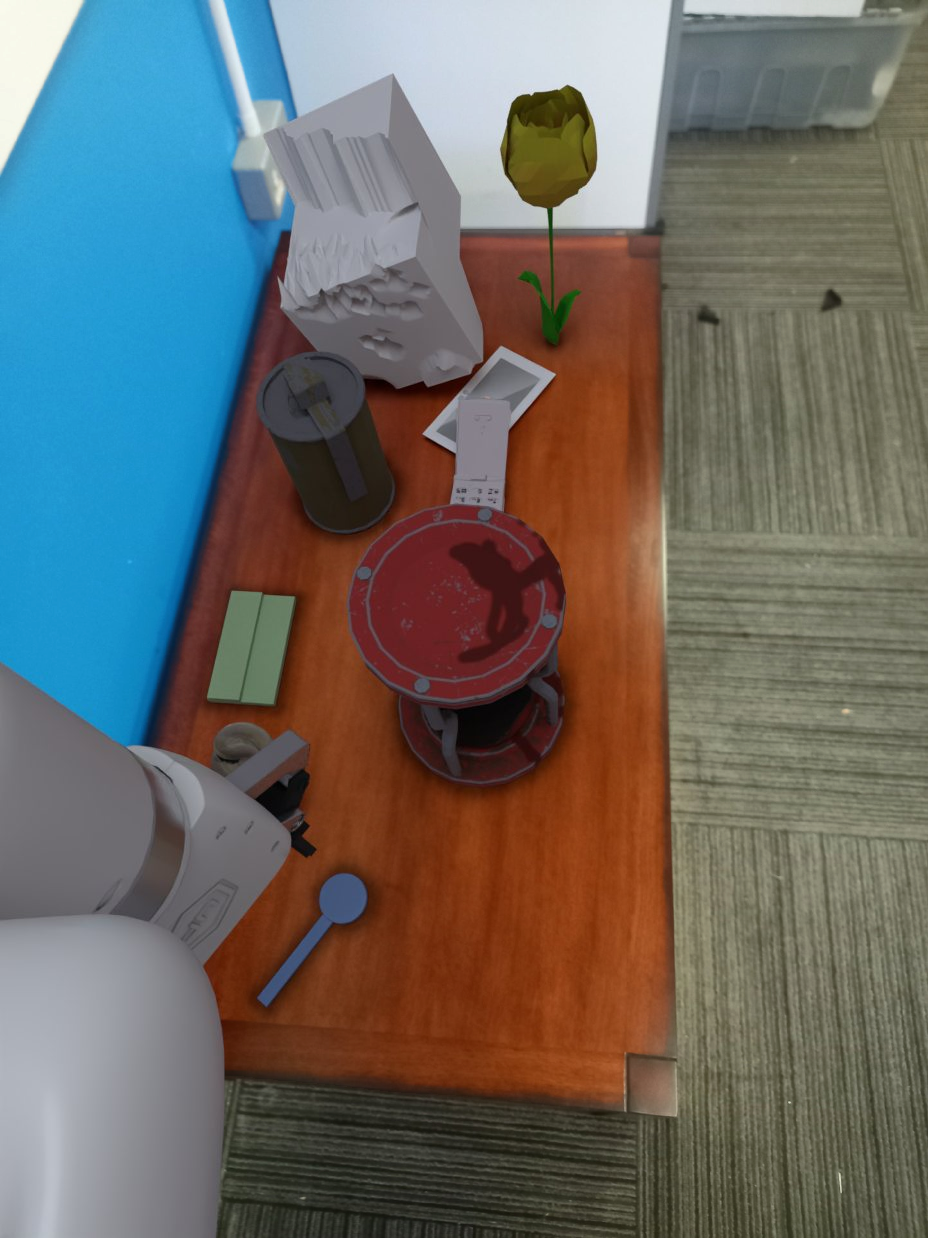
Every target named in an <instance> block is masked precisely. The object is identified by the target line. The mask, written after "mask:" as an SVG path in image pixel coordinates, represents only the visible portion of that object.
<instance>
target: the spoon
mask: <svg viewBox="0 0 928 1238" xmlns="http://www.w3.org/2000/svg"><path fill="white" fill-rule="evenodd" d="M368 902H369V893H368V889H367V886H366V885H365V883H364V881H363V880H362V879H361V878H359V877H358V876H356V875H354V874H352V873H348V872H342V873H337V874H334V875H333V876H331V877H329V878H328V879H327V880H326V881H325V882H324V884H323V885H322V887H321V889H320V891H319V895H318V906H319V909H320V911H321V913H322V915H321V916H320V917H319V918H318V919H317V921H316V922H315V923H314V925H312V927H311V928H310V930H309V931H308V933H307V934H306V935H305V936H304V937H303V939H302V940H301V941H300V943H298V945H297V947H296V948H295V949H294V950H293V951H292V952H291V953H290V955H289V956H288V958H287V959H286V960H285V961H284V962H283V964H282V965H281V967H280V968H279V969H278V970H277V972H276V973H275V974H274V975H273V977H272V978H271V979H270V981H269V982H268V983H267V984H266V985H265V987H264V988H263V989H262V991H261V992H260V994H259V995H258V996H257V998H256V1000H258V1001H259V1002H261V1004H262V1005H264V1006H265V1008H269V1007H270V1006H271V1004H272V1003H273V1001H275V999H276V998H277V997H278V995H279V994H280V993H281V991H282V990H283V989H284V988H285V986H286V985H287V984H288V982H289V981H290V980H291V978H292V977H293V976H294V975H295V973H296V972H297V971H298V970H299V968H300V967H301V966H302V965H303V964H304V962H305V961H306V960H307V958H308V957H309V955H311V953H312V951H313V950H314V949H315V948H316V946H317V945H318V944H319V943H320V941H321V940H322V939H323V938H324V936H325V935H326V934H327V932H328V931H329V930H330V928H331V927H332V926H333V925H334V924H336V925H337V924H338V925H348V924H351V923H354V922H356V921H357V920H358V919H360V918H361V916H362V915H363V914H364V913H365V912H366V909H367V906H368V904H369V903H368Z"/></svg>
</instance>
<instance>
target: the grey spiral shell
mask: <svg viewBox="0 0 928 1238" xmlns="http://www.w3.org/2000/svg"><path fill="white" fill-rule="evenodd" d="M273 740H274V738H273V737H272V736H271V735H270V734H269V732H267V730H266V729H264V728H263V727H262V726H260V725H257V724H256V723H253V722H247V721H240V722H238V721H237V722H233V723H230V724H227V725H225V726H224V727H222V728H221V729H220V730H219V731H218V732H217V733H216V735H215V737H214V739H213V740H212V749H213V751H212V754H211V756H210V769H211V770H213V771H215V772H216V773H218V774H220V775H221V776H223V777H226V776H227V775H229V774H230V773H231V772H232V771H234V770H235V769H236V768H238V767H239V766H240V765H242V764H243V763H244V762H246V761H247V760H248V759H250V758H251V757H252V756H254V755H255V754H256V753H258V752H259V751H260V750H261V749H263V748H264V747H265V746H267V745H268V744H269V743H271V742H272V741H273Z"/></svg>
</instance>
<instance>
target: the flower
mask: <svg viewBox="0 0 928 1238" xmlns="http://www.w3.org/2000/svg"><path fill="white" fill-rule="evenodd" d="M499 152H500V158H501V165H502V169H503V173H504V176H505V177H506V178H507V179H508V181H509V182H510V183H511V185H512V187H513V188H514V190H515V191H516V192H517V195H518V196H519V197H520V200H522V201H523V202H524V203H526V204H528V205H530V206H532V207H535V208H542V209H546V212H547V213H546V214H547V224H548V245H549V262H550V304H549V302H548V300H547V298H546V297H545V295H544V293H543V289H542V284H541V281H540V279H539V276H538V274H536V273H535V272H532V271H530V270H524V271H523V272H522V273H521V274H520V275H519V276H518V277H517V280H519V281H522V282H525V283H528V284H530V285H532V287H533V289H534V290H535V291H536V292H537V293H538V295H539V302H540V311H541V333H542V334H543V336H544V338H545V339H546V340H547V342H549V343H550V344H552V345H557V346H558V345H559V342H560V336H559V334H560V333H561V331H562V329H563V328H564V326H565V325H566V323H567V320H568V318H569V315H570V312H571V309H572V306H573V304H574V302H575V299H576V297H578V296H579V295H581V293H582V291H581V290H579V289H573V290H572V291H570V292H568V293H565V294H564V295H563V296H562V297H561V298H560V300H559V302H558V303H557V306H556V309H555V284H554V283H555V282H554V281H555V278H554V275H555V274H554V220H553V219H554V208H558V207H560V206H561V205H562V204H563V203H564V202H565V201H567V200H569V199H570V198H573V197H574V196H576V195H578V194H579V191H580V190H581V189H582V188H585V187H586V186H587V185H588V184H589V182H590V181H591V179H592V177H593V176H594V174H595V172H596V171H597V165H598V143H597V131H596V125H595V122H594V118H593V115H592V114H591V111H590V109H589V107H588V104H587V102H586V100H585V98H584V96H583V94H582V92H581V90H578V89H577V88H575V87H574V86H571V85H569V84H566V85H564V86H563V87H561V88H560V89H559V88H557V89H553V90H547V91H546V90H545V91H534V92H533V93H532V94H531V93H523V94H520V95H518V96H517V97H516V98H514V99H513V100H512V101H511V104H510V107H509V111H508V115H507V118H506V126H505V130H504V133H503V137H502V141H501V144H500V147H499Z"/></svg>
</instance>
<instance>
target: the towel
mask: <svg viewBox="0 0 928 1238" xmlns="http://www.w3.org/2000/svg"><path fill="white" fill-rule="evenodd" d="M297 600H298V599H297V598H296V596H293V595H273V594H264V593H263V592H262V591H247V590H246V591H245V590H231V592H230V596H229V600H228V604H227V609H226V613H225V617H224V621H223V625H222V630H221V635H220V639H219V643H218V648H217V652H216V657H215V660H214V665H213V669H212V674H211V677H210V681H209V687H208V691H207V694H206V699H207V701H208V702H209V703H216V704H217V703H218V704H230V705H231V704H233V705H247V706H262V707H277V701H278V697H279V696H278V695H279V691H280V686H281V681H282V677H283V676H282V675H283V670H284V667H285V661H286V656H287V651H288V646H289V642H290V641H289V640H290V635H291V631H292V626H293V620H294V615H295V611H296V605H297Z"/></svg>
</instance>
